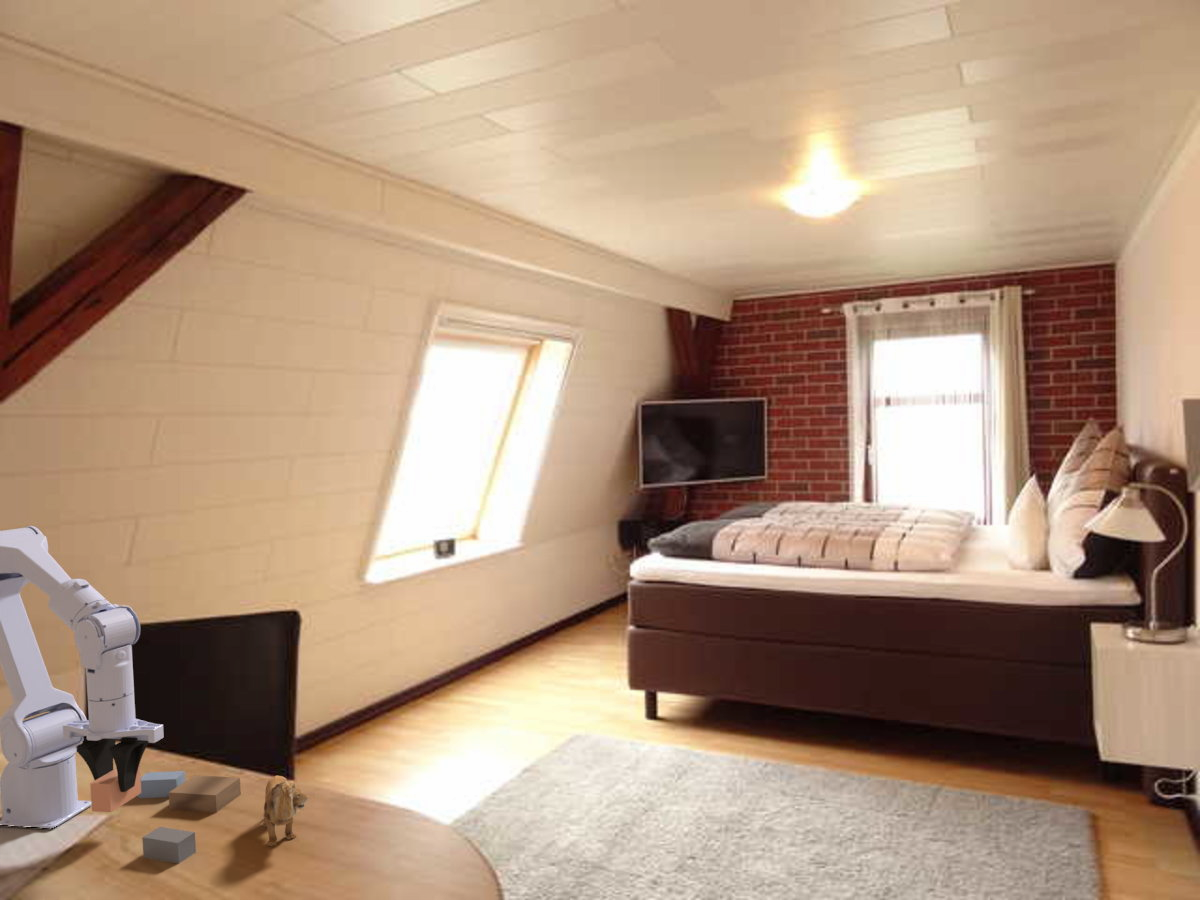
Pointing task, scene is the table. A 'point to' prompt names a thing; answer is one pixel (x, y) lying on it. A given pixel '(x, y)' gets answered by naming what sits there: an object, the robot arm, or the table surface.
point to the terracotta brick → (112, 792)
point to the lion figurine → (281, 806)
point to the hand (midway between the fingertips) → (116, 788)
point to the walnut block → (204, 793)
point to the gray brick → (169, 845)
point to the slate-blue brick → (160, 783)
